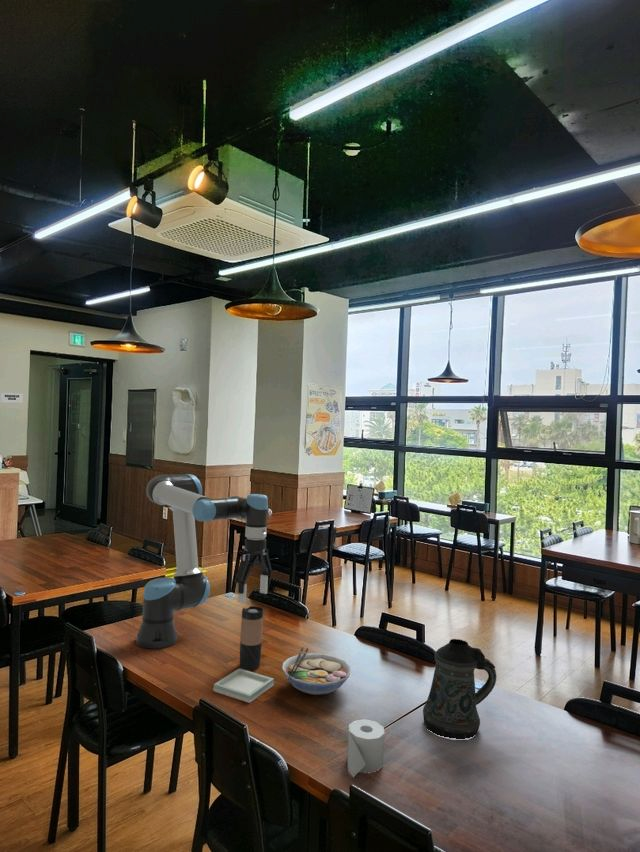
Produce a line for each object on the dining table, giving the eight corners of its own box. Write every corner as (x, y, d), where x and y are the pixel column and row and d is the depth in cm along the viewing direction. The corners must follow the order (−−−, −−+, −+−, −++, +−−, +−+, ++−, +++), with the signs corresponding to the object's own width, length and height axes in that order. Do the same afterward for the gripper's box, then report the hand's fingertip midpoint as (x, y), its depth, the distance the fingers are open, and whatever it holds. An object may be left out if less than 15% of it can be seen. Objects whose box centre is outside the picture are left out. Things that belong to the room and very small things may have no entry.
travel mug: (259, 671, 191) (262, 613, 192) (237, 669, 192) (240, 612, 192) (261, 661, 199) (264, 606, 199) (240, 660, 199) (243, 605, 199)
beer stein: (412, 715, 167) (416, 633, 167) (465, 707, 173) (469, 628, 174) (442, 746, 151) (447, 655, 151) (500, 735, 158) (504, 648, 158)
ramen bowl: (343, 714, 165) (345, 686, 166) (271, 702, 170) (272, 676, 170) (355, 678, 190) (356, 654, 190) (291, 669, 195) (292, 646, 195)
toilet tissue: (348, 782, 133) (350, 746, 133) (346, 750, 147) (348, 718, 147) (385, 784, 133) (387, 749, 133) (380, 752, 147) (382, 720, 147)
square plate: (213, 691, 175) (213, 684, 175) (238, 674, 188) (239, 668, 188) (249, 703, 169) (250, 695, 169) (273, 685, 181) (274, 678, 181)
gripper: (244, 544, 183) (241, 608, 183) (282, 534, 205) (280, 591, 205) (226, 541, 187) (223, 604, 186) (265, 531, 209) (263, 587, 208)
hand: (253, 597), depth 196 cm, fingers open, 13 cm apart
